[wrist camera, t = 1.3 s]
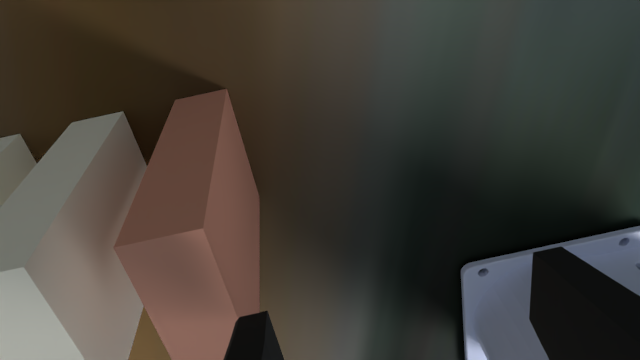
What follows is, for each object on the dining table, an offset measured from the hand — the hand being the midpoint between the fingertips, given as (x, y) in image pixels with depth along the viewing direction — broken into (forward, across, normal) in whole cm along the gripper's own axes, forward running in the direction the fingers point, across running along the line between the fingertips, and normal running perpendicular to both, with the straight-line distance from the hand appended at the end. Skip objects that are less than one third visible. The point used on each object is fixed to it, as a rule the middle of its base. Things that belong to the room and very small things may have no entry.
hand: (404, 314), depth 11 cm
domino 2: (+10, +5, 0) cm, 12 cm away
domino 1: (+10, +9, 0) cm, 14 cm away
